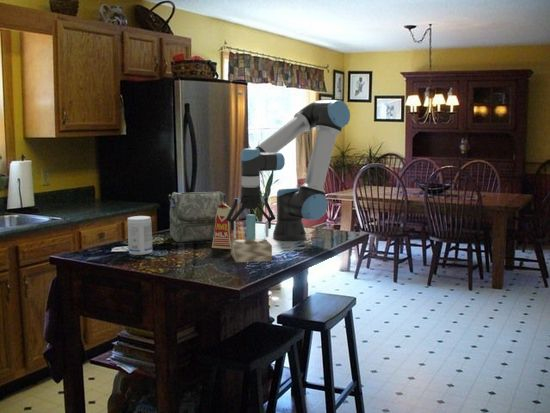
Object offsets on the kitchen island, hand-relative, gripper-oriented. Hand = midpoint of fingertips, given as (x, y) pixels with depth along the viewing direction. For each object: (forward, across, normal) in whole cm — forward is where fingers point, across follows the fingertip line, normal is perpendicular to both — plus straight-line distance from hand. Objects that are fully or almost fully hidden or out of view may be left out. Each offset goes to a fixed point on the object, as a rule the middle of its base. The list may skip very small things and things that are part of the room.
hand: (250, 237), depth 257 cm
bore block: (+6, +2, +13) cm, 14 cm away
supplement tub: (+6, +45, -5) cm, 46 cm away
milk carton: (+6, +10, -12) cm, 16 cm away
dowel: (+6, 0, 0) cm, 6 cm away
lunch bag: (+6, +20, -32) cm, 38 cm away
